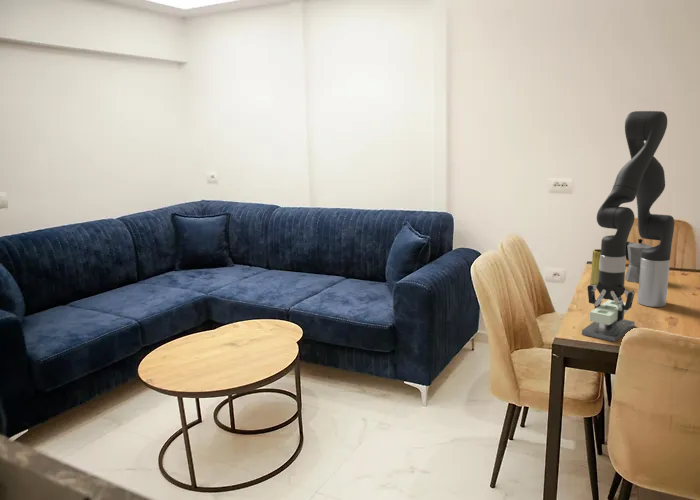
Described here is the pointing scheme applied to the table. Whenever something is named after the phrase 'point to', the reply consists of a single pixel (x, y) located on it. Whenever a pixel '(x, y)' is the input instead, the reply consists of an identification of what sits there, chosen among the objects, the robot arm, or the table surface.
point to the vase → (595, 266)
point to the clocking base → (608, 330)
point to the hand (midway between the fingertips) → (608, 318)
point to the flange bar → (605, 313)
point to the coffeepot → (634, 259)
